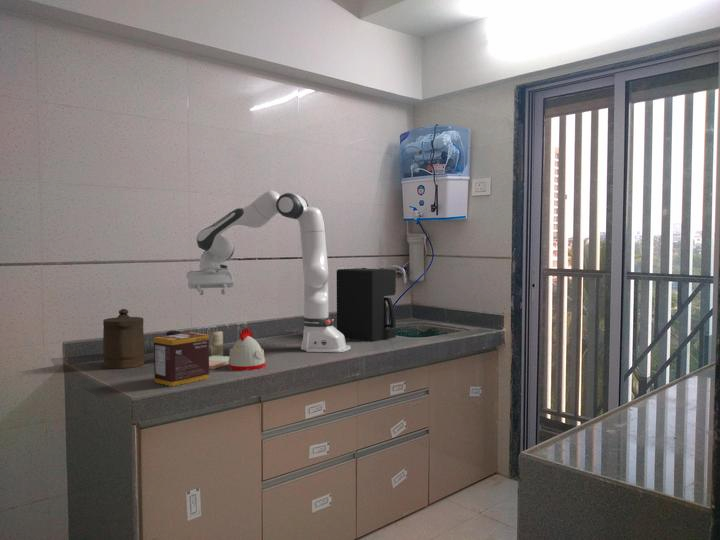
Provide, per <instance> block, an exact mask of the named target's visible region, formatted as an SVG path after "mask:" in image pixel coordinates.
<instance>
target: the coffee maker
mask: <svg viewBox="0 0 720 540" xmlns="http://www.w3.org/2000/svg"><path fill="white" fill-rule="evenodd" d="M396 274H397V272H396V270H395V269H394V268H391V269H390V268H384V267H383V268H382V267H379V268H367V267H361V268H360V267H359V268H357V267H356V268H338V269H336V329H337V330H338V331H340V332H341V333H342V334H343V335H344V337H345V339H349V340H358V341H365V342H370V343H372V342H378V341H384V340H389V339H392V338H393V339H394V338H396V337H397V331H396V329H395V328H396V327H397V326H396V325H397V324H396V323H397V322H396V314H395V313H396V312H395V308H394V303H393V300H392V298H391V296H395V295H396V292H397V289H396V288H397V287H396V284H397V283H396V279H397V277H396ZM387 306H388V307H387ZM389 317H390V323H389Z"/></svg>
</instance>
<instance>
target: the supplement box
mask: <svg viewBox="0 0 720 540" xmlns="http://www.w3.org/2000/svg"><path fill="white" fill-rule="evenodd" d="M209 340H210V335H209V334H206V333H198V332H194V331H190V332H184V333H183V332H182V334H175V335H168V336H166V335H164V336H163V335H162V336H156V337H154V338H153V359H154V360H153V361H154V362H153V363H154V364H153V366H154V368H153V369H154V372H153V373H154V383H155V382H157V383H156V384H159V383H161V385H163V384H165V386H167V385H169V386H168V387H171V386H173V387H176V386H175V385H177V386H181V385H180V384H182V385H186V384H190V382H191V383H195V382H194V381H196V382H198V380H200V381H204V380H203V379H205V380H209V379H210V369H209V357H210V341H209ZM208 378H209V379H208ZM185 383H186V384H185Z"/></svg>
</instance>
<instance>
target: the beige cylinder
mask: <svg viewBox="0 0 720 540" xmlns="http://www.w3.org/2000/svg"><path fill="white" fill-rule="evenodd" d="M213 355H214V356H224V332H223V331H221V330H218V331H217V330H216V331H210V356H213Z"/></svg>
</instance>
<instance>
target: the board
mask: <svg viewBox="0 0 720 540" xmlns="http://www.w3.org/2000/svg"><path fill="white" fill-rule="evenodd" d="M229 357H230V356H226V355H225V356H224V355H223V356H214V355H213V356H211V355H209V370H215V369H217V368H221V367H223V366H226V365H228V362H229Z"/></svg>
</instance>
